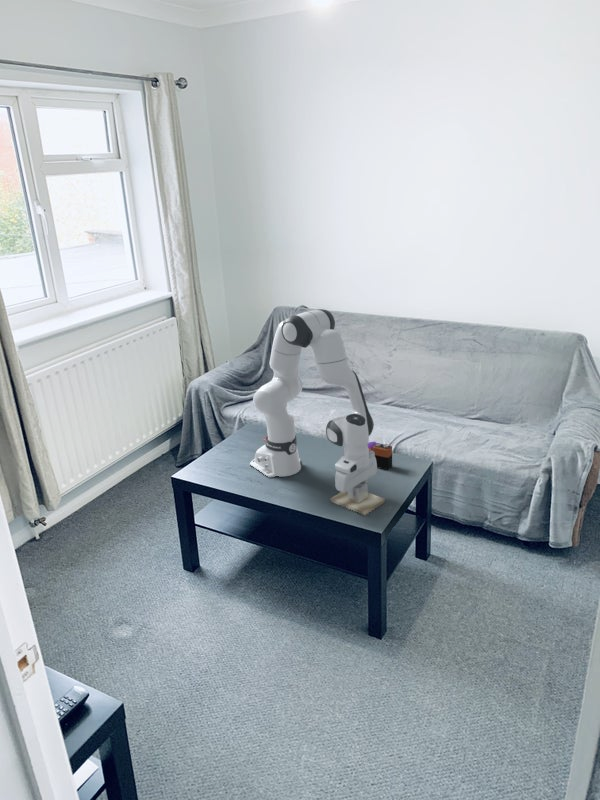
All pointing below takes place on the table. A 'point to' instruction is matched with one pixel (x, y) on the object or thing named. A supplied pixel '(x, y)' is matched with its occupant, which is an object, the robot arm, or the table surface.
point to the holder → (360, 507)
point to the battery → (383, 455)
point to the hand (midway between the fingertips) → (357, 492)
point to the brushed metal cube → (359, 492)
